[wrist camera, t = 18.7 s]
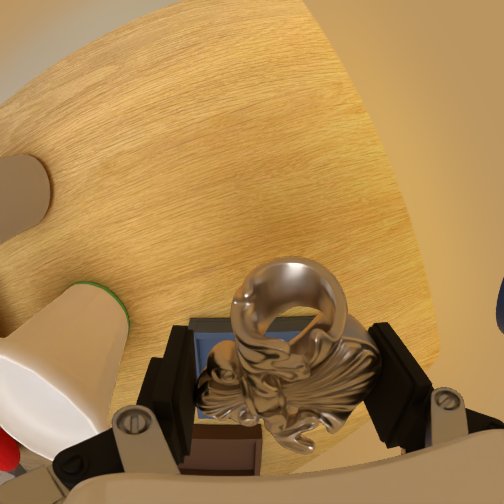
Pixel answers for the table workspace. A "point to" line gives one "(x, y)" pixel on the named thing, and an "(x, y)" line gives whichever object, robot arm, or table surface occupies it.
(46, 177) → the can
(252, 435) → the walnut tray
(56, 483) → the robot arm
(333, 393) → the ornament
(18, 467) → the alarm clock
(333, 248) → the table surface
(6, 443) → the tomato
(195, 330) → the blue tray
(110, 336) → the cup
